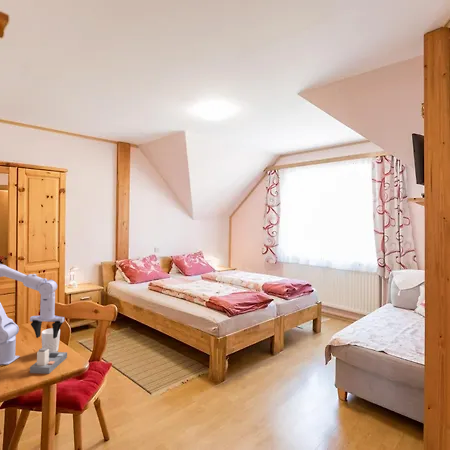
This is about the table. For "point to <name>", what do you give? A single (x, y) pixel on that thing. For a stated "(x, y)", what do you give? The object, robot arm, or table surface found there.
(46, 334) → the white cup
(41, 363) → the plug
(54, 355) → the socket strip
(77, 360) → the table surface
